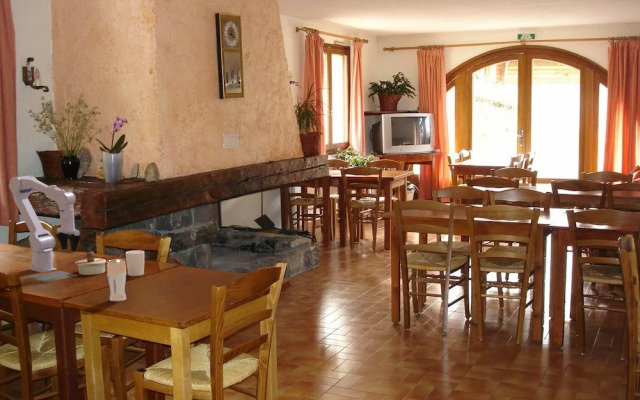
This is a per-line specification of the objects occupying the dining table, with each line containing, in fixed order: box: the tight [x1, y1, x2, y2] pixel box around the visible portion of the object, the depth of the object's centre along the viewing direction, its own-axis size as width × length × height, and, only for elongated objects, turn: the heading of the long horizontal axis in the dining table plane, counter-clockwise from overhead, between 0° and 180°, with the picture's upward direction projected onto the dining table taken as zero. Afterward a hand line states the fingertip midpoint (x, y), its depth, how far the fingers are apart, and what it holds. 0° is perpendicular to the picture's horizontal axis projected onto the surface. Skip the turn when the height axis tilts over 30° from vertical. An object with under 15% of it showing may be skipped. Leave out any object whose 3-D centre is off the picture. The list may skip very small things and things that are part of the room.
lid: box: [74, 251, 107, 267], centre depth 315 cm, size 13×13×5 cm
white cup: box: [125, 249, 145, 277], centre depth 312 cm, size 8×8×10 cm
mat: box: [28, 270, 80, 283], centre depth 309 cm, size 15×15×1 cm
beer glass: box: [106, 258, 127, 303], centre depth 271 cm, size 7×7×15 cm
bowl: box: [78, 263, 106, 276], centre depth 316 cm, size 11×11×4 cm
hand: (69, 250), depth 315 cm, fingers open, 7 cm apart
